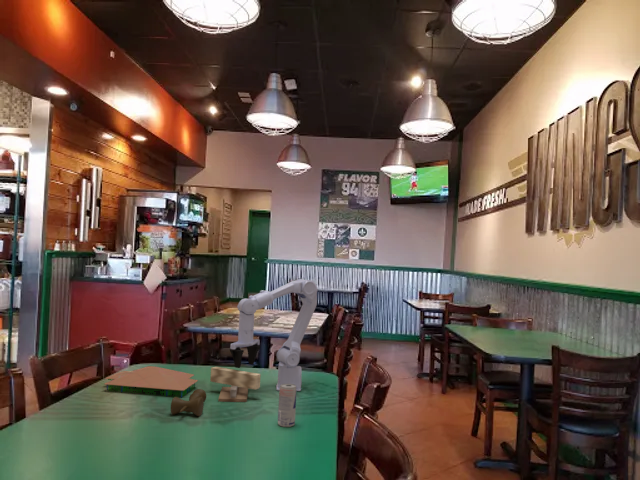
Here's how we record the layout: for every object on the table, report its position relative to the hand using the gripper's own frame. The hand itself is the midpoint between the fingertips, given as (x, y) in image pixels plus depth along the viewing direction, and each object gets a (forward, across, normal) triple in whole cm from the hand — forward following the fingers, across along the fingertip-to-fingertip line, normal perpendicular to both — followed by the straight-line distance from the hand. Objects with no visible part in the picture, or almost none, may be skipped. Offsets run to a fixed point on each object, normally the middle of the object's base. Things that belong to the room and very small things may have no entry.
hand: (244, 365), depth 187 cm
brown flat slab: (+10, -18, +30) cm, 36 cm away
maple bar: (+6, -6, -1) cm, 8 cm away
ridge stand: (+10, -6, -1) cm, 11 cm away
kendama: (+10, -29, -3) cm, 30 cm away
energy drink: (+10, -18, -34) cm, 40 cm away
